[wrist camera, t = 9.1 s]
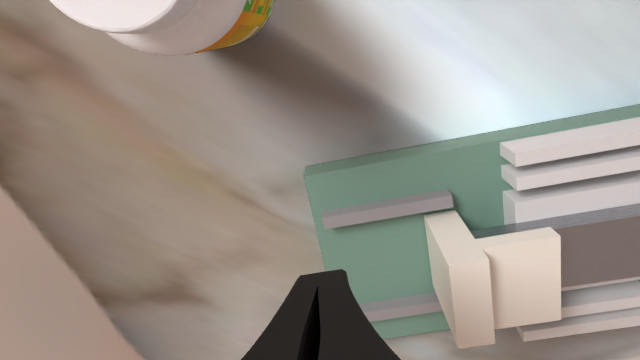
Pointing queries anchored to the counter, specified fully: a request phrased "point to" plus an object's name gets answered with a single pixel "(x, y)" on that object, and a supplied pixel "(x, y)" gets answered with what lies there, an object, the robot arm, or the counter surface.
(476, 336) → the clip
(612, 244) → the strap
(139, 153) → the counter surface
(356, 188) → the heatsink board
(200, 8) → the supplement bottle
